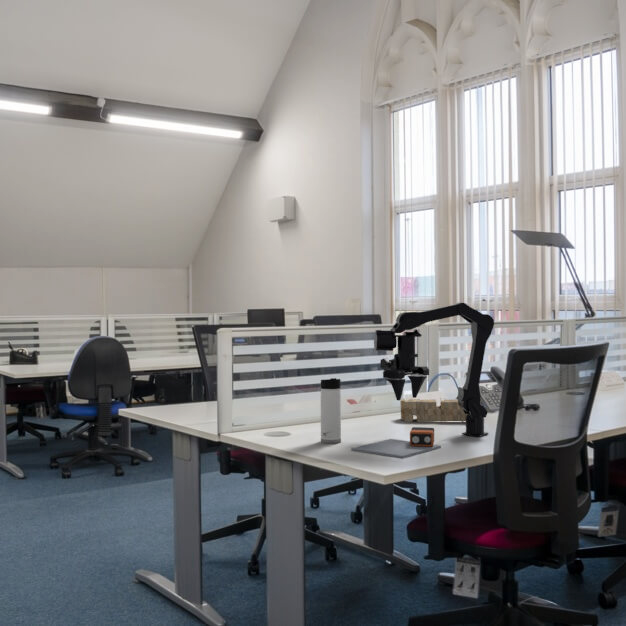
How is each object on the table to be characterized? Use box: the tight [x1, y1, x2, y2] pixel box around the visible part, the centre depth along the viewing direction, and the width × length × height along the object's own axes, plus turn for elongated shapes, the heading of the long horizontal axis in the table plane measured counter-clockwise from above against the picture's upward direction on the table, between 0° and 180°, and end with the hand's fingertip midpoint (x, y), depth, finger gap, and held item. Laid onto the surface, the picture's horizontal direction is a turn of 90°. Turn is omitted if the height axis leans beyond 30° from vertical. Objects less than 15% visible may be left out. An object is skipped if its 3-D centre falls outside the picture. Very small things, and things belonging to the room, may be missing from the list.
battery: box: [409, 426, 435, 447], centre depth 219 cm, size 4×7×10 cm
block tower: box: [399, 398, 467, 422], centre depth 270 cm, size 8×8×29 cm
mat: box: [351, 438, 442, 459], centre depth 215 cm, size 20×18×1 cm
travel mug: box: [320, 377, 342, 445], centre depth 227 cm, size 6×7×20 cm
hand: (406, 398), depth 237 cm, fingers open, 9 cm apart
